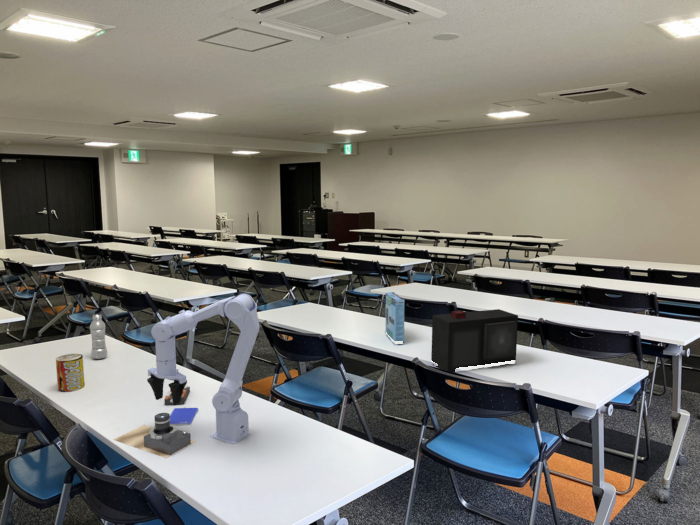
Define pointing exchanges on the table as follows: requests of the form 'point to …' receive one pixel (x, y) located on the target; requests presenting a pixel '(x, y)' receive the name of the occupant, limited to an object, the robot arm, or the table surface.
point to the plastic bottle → (98, 337)
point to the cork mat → (141, 440)
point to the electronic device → (184, 396)
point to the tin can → (70, 372)
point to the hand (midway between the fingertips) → (167, 401)
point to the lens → (162, 423)
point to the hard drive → (183, 416)
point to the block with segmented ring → (167, 440)
